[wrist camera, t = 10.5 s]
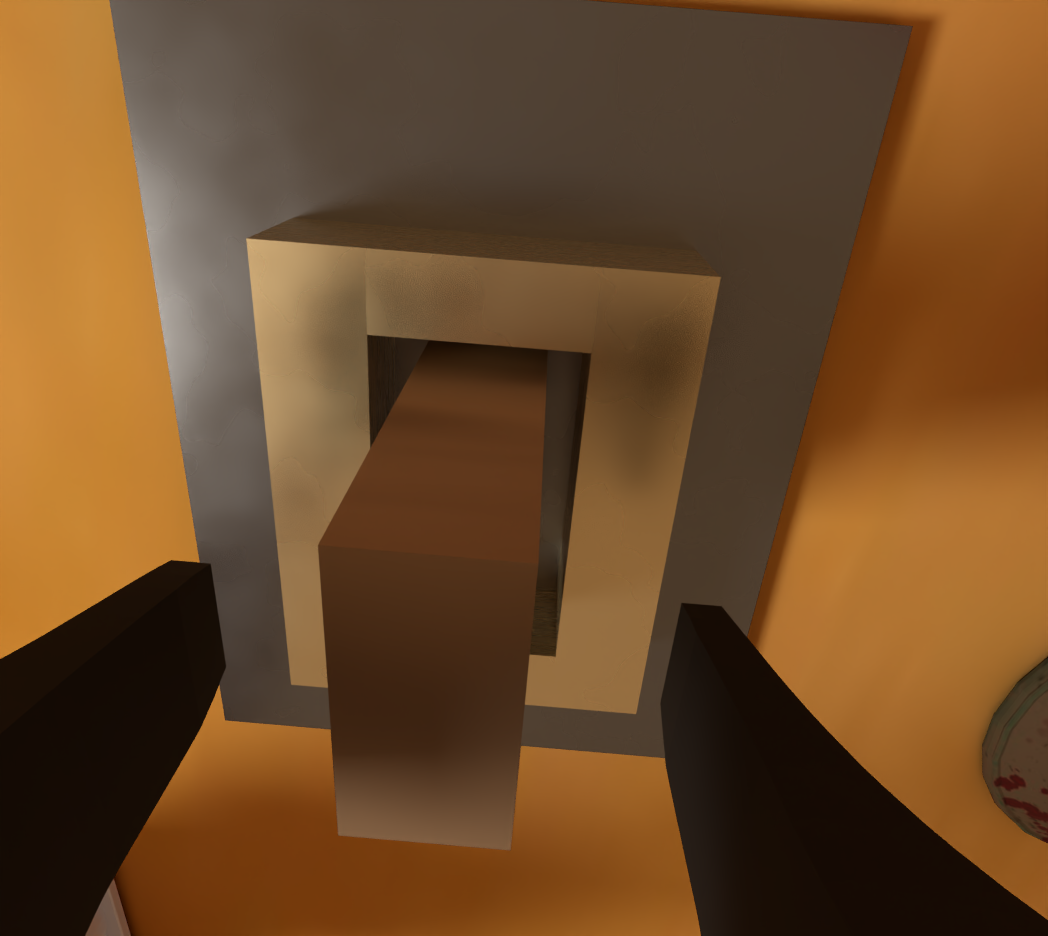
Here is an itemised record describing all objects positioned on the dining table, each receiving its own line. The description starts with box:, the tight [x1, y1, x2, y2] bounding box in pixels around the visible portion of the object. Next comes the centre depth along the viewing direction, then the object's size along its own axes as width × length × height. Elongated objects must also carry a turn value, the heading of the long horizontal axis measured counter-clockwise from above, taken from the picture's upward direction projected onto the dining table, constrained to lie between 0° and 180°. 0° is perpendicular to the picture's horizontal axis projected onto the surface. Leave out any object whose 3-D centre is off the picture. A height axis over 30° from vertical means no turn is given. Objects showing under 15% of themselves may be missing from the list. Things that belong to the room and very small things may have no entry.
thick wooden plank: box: [318, 340, 548, 850], centre depth 13 cm, size 5×2×8 cm, turn 176°
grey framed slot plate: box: [109, 0, 913, 758], centre depth 16 cm, size 18×14×3 cm
